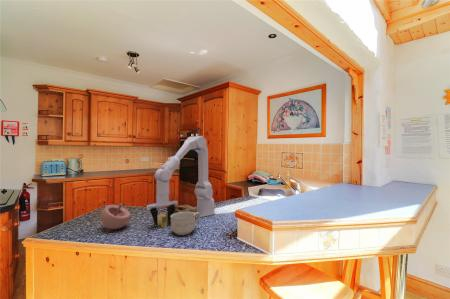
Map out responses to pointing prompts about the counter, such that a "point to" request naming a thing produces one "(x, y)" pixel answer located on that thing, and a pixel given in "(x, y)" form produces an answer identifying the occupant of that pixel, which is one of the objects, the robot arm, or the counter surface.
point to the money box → (185, 209)
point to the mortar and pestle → (115, 216)
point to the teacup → (184, 222)
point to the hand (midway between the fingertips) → (162, 222)
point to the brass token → (162, 220)
